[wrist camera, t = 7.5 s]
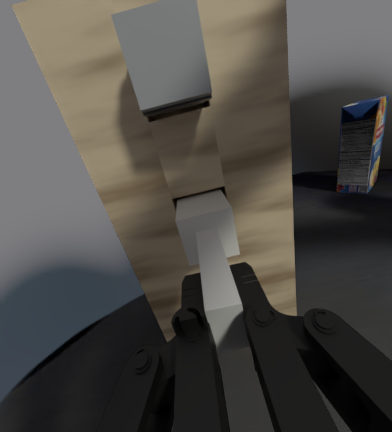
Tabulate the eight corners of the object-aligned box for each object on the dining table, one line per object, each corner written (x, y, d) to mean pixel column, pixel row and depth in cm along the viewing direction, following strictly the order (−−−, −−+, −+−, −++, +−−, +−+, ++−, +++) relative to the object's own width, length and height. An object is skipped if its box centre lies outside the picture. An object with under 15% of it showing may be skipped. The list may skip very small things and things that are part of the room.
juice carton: (347, 179, 68) (354, 102, 58) (376, 180, 62) (389, 94, 53) (336, 192, 61) (341, 107, 52) (367, 194, 56) (379, 99, 46)
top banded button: (151, 118, 16) (131, 49, 14) (206, 104, 16) (192, 32, 14) (139, 113, 12) (106, 11, 10) (215, 93, 12) (197, -15, 10)
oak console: (175, 299, 37) (83, 57, 22) (268, 278, 36) (240, 13, 21) (172, 354, 28) (11, 5, 13) (297, 327, 27) (283, -76, 12)
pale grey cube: (188, 236, 21) (177, 199, 19) (227, 227, 21) (220, 189, 19) (189, 266, 17) (175, 220, 15) (240, 254, 16) (231, 207, 15)
